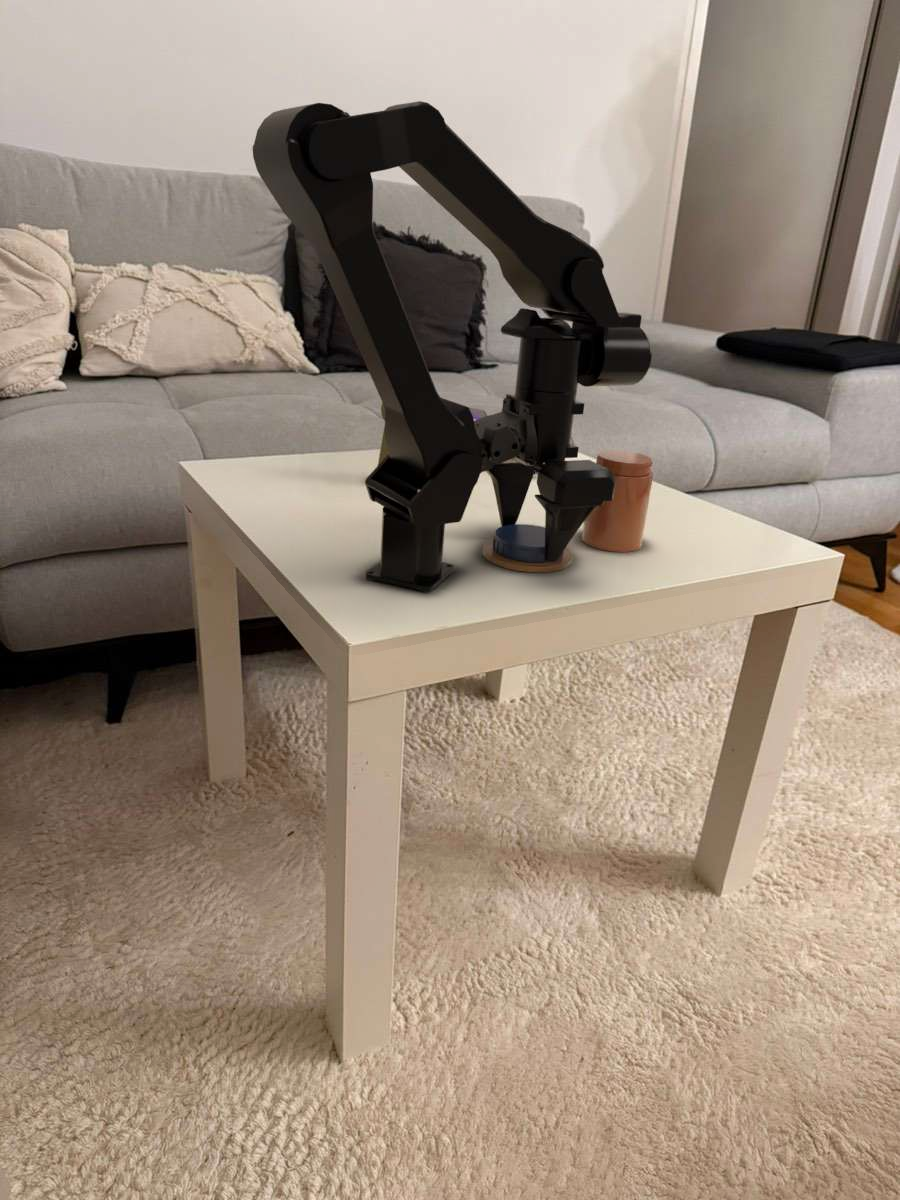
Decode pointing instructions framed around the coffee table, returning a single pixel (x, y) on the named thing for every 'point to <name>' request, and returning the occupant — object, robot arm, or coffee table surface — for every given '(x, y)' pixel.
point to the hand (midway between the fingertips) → (528, 545)
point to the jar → (621, 503)
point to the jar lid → (521, 543)
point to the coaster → (526, 566)
